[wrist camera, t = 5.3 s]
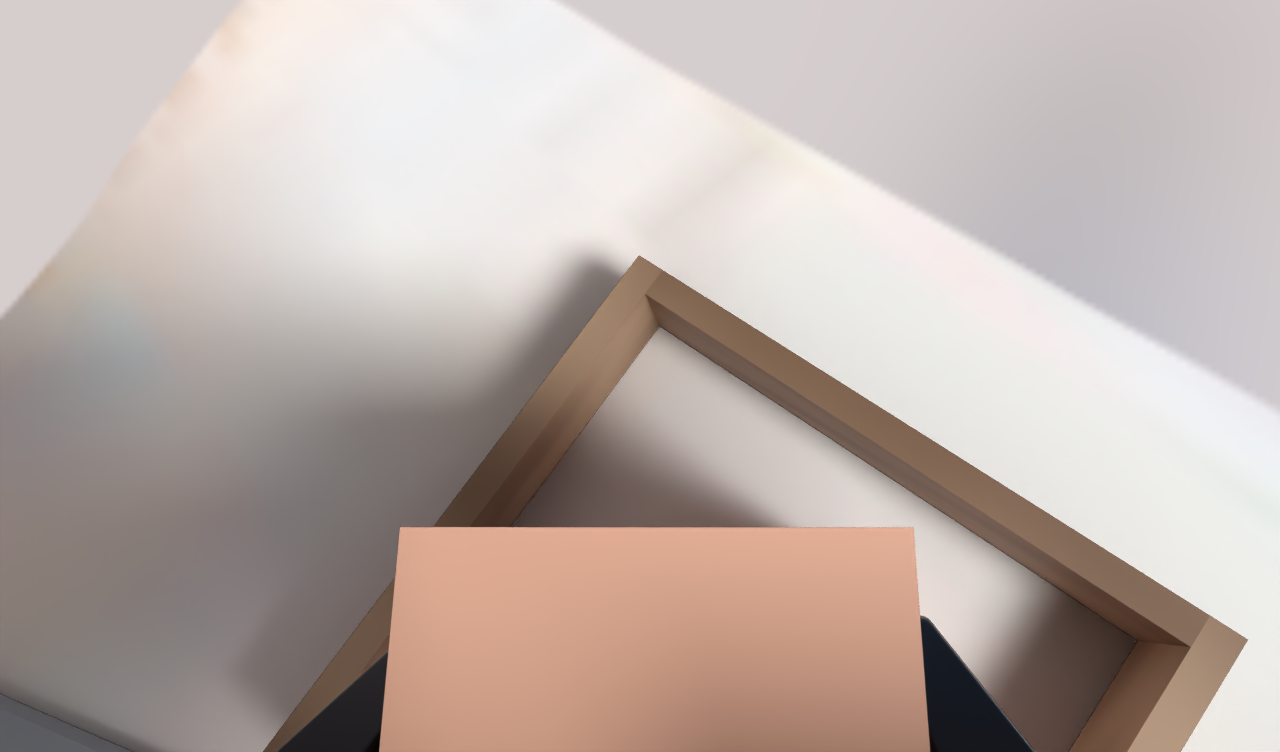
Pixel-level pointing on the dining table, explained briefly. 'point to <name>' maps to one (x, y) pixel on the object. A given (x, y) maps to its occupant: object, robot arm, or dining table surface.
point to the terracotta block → (655, 640)
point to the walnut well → (649, 297)
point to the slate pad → (44, 732)
